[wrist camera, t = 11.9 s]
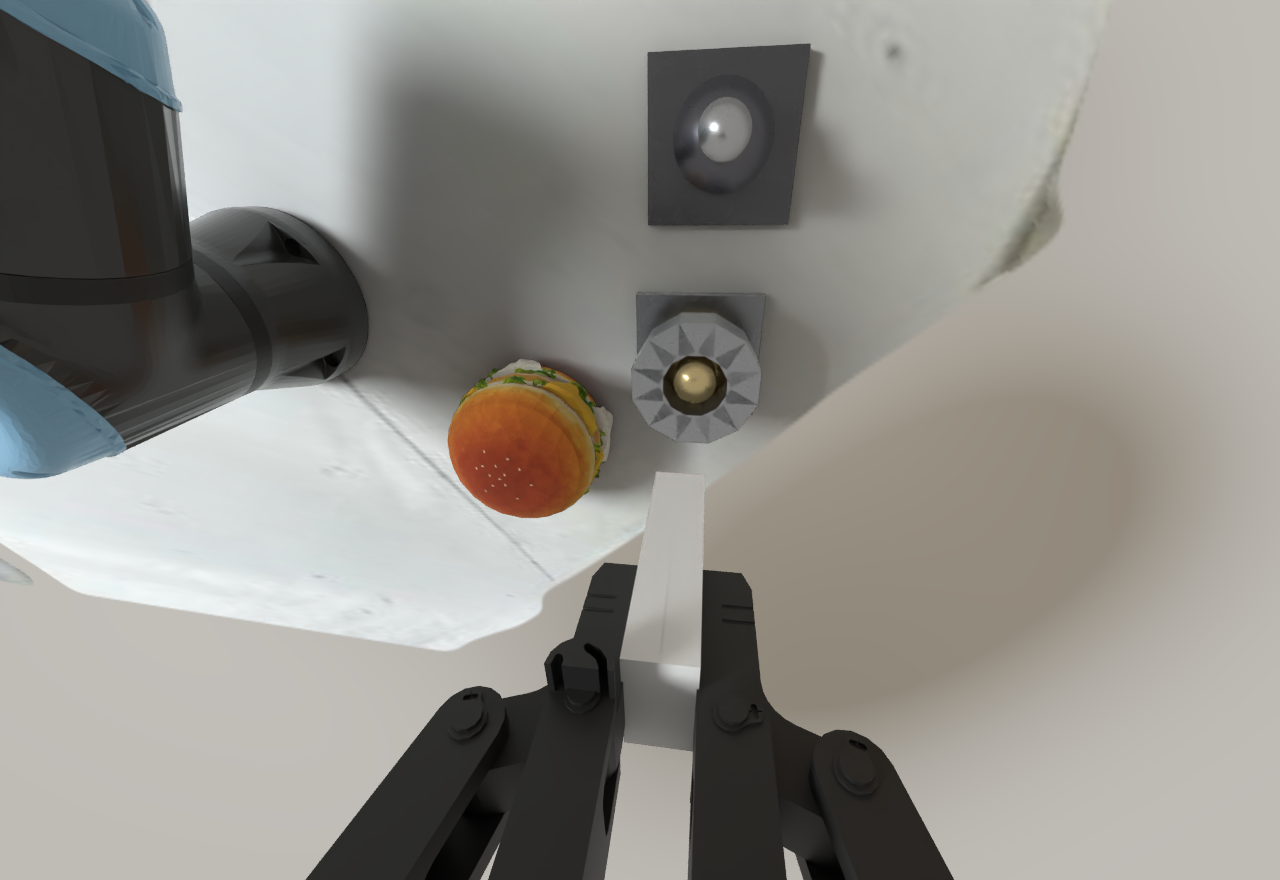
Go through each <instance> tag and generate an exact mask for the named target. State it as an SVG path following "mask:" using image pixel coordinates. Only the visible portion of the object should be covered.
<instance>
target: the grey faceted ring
mask: <svg viewBox="0 0 1280 880" xmlns="http://www.w3.org/2000/svg"><path fill="white" fill-rule="evenodd" d="M686 356H705V357H707V358H709V359H710V360H712V361H714V362H715V363H717V364H719V365H720V367H721V369H722V370H723V372H724V374H725V381H724V383H723V384H722V386H721V387H720V389H719V390H718V391H717V393H715V394H713V395H711V396H710V397H709V398H708V399H707V400H705V401H703V402H700V403H690V402H686V401H684V400H683V399H681V398H680V397H679V396H678V395H677V393H676V392H674V391H673V389H672V387H671V386H670V384H669V382H668V380H667V379H666V372H667V371H668V369H669V367H670V366H671V364H672V363H674V362H676V361H678V360H680V359H682V358H684V357H686ZM631 371H632V400H633V402H634V404H635V405H636V407H637V408H638V410H639V411H640V413H641V415H642V416H643V418H644V419H645V421H646V423H647V424H648V426H649V427H651V428H653V429H655V430H656V431H658V432H660V433H662V434H663V435H665V436H667V437H669V438H671V439H672V440H674V441H676V442H692V443H710V442H713V441H715V440H717V439H719V438H722V437H724V436H726V435H729V434H731V433H733V432H735V431H738V430H739V428H740V427H741V426H742V425H743V423H744V422H745V421H746V419H747V418H748V417H749V416H750V414H751V413H752V412H753V410H754V409H755V408H756V407H757V405H758V399H759V390H760V382H761V369H760V365H759V362H758V358H757V356H756V354H755V352H754V350H753V348H752V346H751V344H750V342H749V340H748V338H747V336H746V334H745V332H744V330H742V329H741V328H739V327H737V326H736V325H734V324H733V323H731V322H729V321H728V320H726V319H724V318H723V317H721V316H720V315H718V314H716V313H685V312H682V313H680V314H678V315H676V316H674V317H673V318H671V319H669V320H667V321H665V322H664V323H662V324H660V325H658V326H657V327H655V328H653V329H652V331H651V333H650V334H649V336H648V338H647V340H646V341H645V343H644V345H643V346H642V348H641V350H640V352H639V353H638V355H637V357H636V359H635V362H634V364H633V366H632V368H631Z"/></svg>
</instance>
